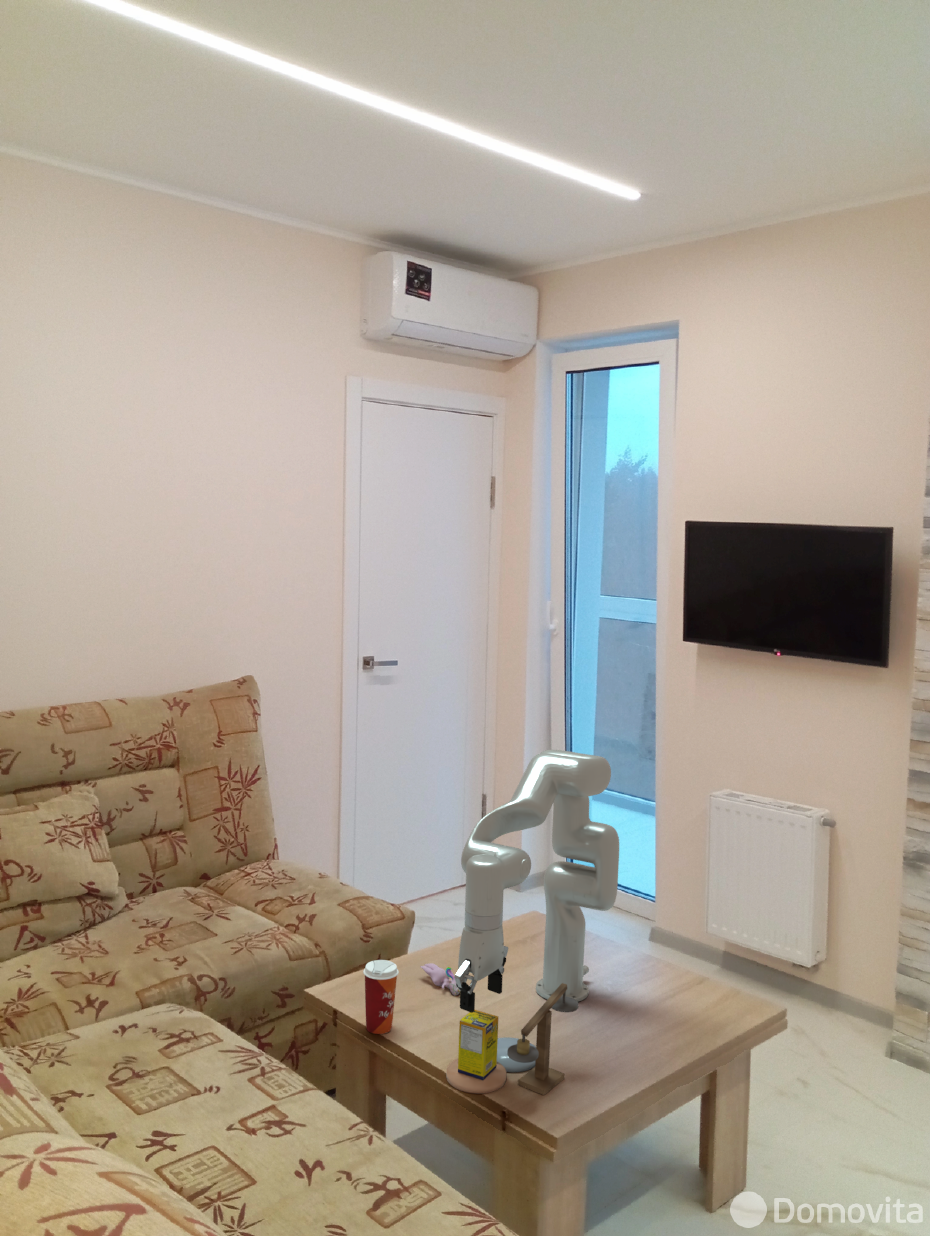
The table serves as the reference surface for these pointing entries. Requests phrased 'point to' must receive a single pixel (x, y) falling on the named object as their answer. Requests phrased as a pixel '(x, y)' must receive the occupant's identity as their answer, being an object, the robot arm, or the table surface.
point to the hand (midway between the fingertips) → (481, 1000)
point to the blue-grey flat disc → (506, 1061)
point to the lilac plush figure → (441, 977)
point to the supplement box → (478, 1044)
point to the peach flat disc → (476, 1079)
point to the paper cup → (380, 995)
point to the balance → (541, 1044)
